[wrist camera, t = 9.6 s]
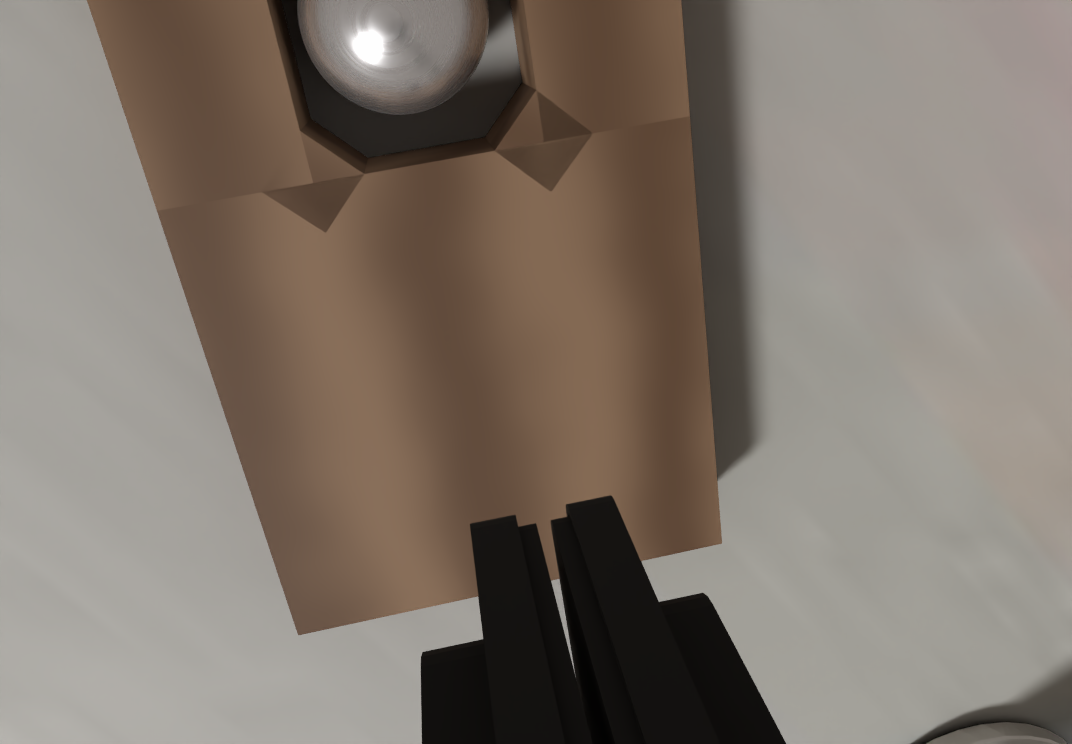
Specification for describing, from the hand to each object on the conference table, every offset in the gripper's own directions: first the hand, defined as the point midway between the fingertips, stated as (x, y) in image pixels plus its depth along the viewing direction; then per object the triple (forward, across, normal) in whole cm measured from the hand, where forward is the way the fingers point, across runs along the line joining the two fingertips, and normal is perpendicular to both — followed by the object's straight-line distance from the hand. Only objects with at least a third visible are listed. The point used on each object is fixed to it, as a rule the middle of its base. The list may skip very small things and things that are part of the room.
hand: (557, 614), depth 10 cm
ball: (+17, +1, -7) cm, 18 cm away
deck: (+19, +1, 0) cm, 19 cm away
